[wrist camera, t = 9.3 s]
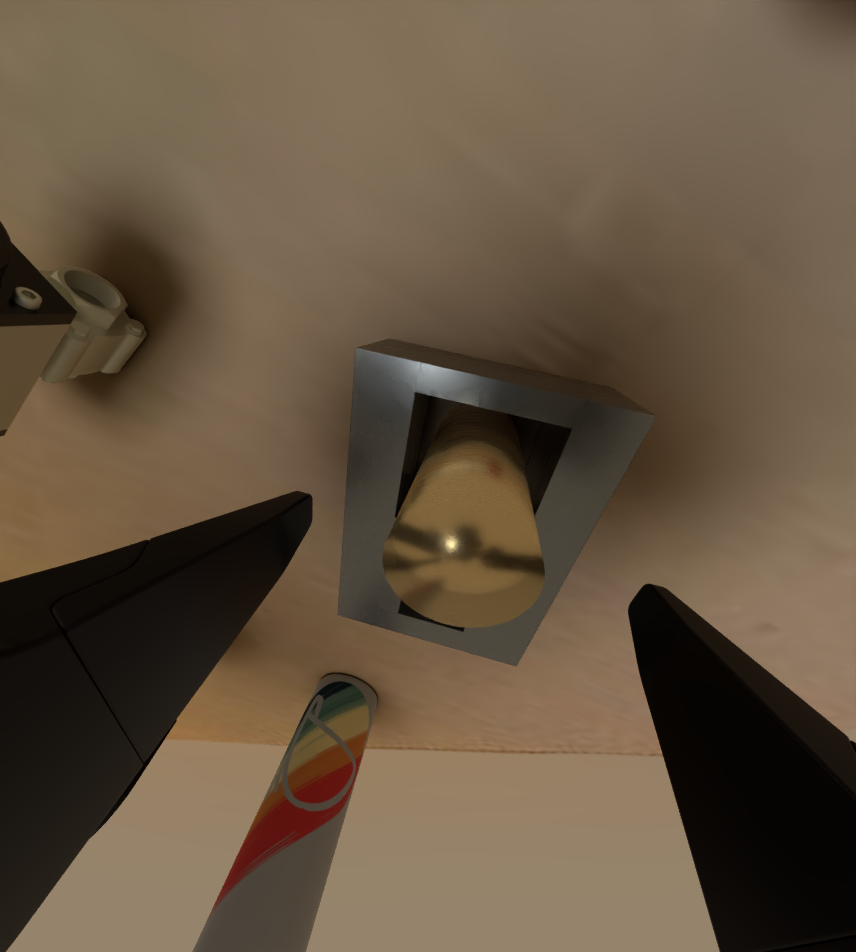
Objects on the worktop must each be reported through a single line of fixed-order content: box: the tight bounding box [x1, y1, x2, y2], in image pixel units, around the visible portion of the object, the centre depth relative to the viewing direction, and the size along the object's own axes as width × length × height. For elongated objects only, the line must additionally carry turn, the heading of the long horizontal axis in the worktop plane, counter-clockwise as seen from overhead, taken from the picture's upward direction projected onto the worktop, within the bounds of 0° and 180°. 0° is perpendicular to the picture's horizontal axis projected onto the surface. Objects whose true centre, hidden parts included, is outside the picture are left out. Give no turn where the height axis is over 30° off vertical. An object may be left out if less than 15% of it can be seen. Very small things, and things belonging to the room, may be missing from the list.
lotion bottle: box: [193, 674, 377, 952], centre depth 20 cm, size 6×6×20 cm
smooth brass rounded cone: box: [382, 404, 545, 628], centre depth 12 cm, size 4×4×9 cm
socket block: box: [338, 339, 656, 667], centre depth 16 cm, size 14×10×4 cm
